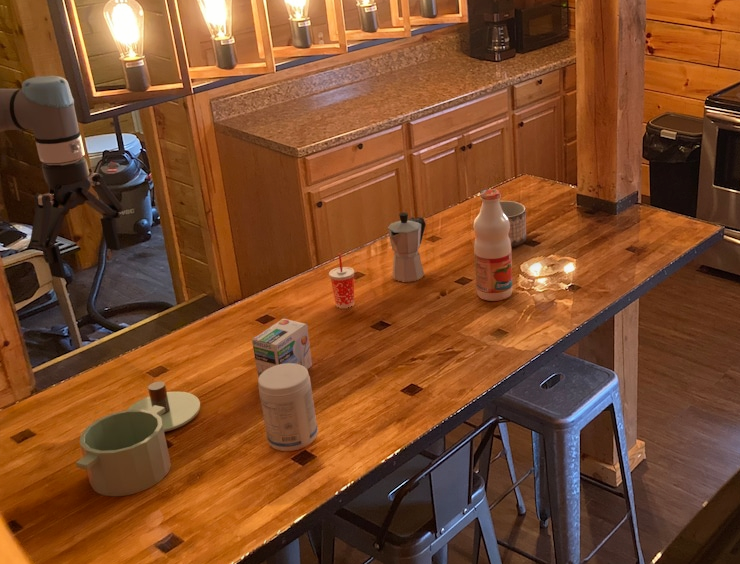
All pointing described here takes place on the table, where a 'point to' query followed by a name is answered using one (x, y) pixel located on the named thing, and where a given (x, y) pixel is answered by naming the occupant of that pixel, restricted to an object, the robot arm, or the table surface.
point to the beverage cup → (343, 285)
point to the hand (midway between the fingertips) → (87, 262)
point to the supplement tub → (288, 407)
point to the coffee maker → (407, 247)
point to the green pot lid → (170, 405)
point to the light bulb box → (282, 345)
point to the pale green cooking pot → (125, 452)
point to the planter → (515, 221)
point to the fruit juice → (492, 249)
